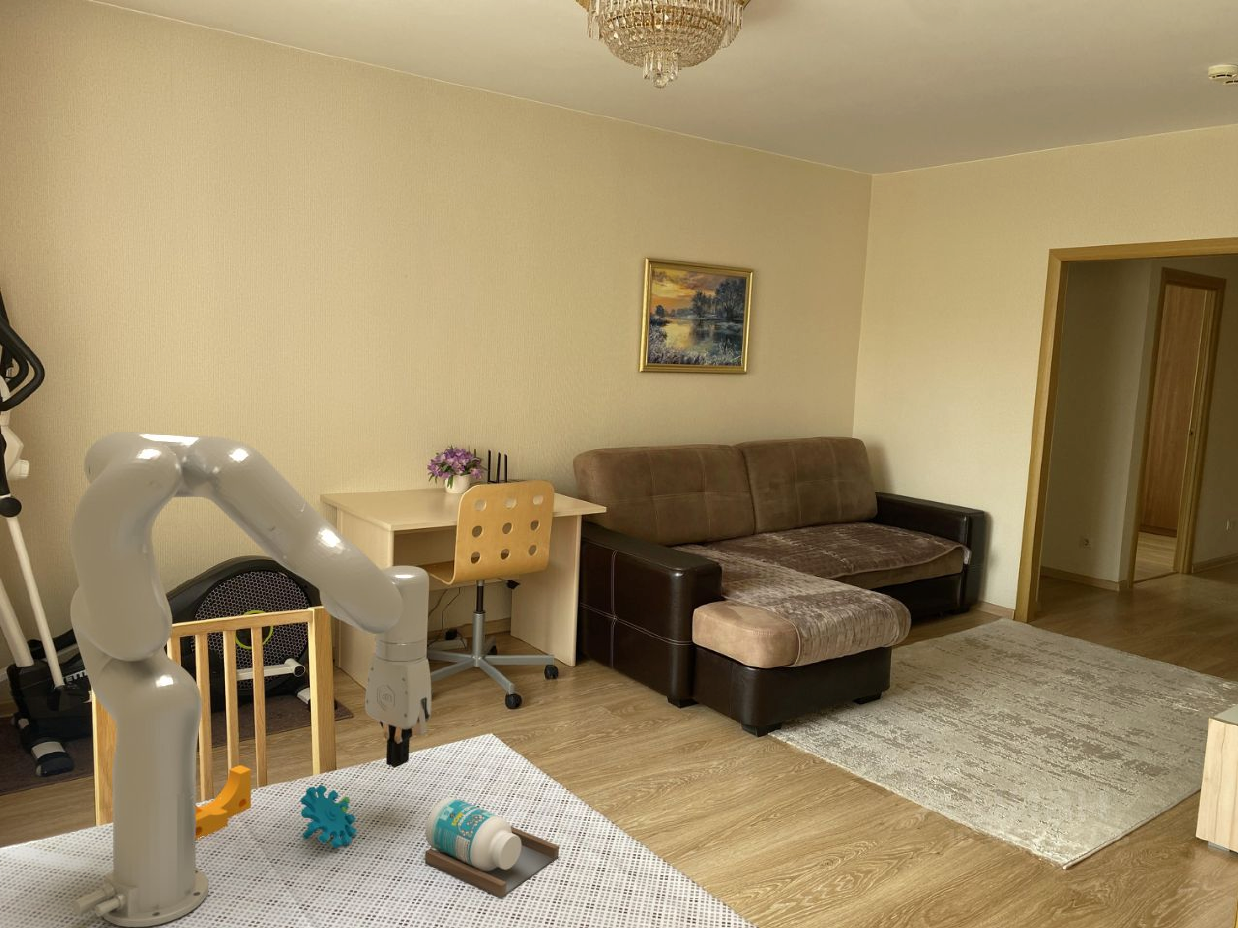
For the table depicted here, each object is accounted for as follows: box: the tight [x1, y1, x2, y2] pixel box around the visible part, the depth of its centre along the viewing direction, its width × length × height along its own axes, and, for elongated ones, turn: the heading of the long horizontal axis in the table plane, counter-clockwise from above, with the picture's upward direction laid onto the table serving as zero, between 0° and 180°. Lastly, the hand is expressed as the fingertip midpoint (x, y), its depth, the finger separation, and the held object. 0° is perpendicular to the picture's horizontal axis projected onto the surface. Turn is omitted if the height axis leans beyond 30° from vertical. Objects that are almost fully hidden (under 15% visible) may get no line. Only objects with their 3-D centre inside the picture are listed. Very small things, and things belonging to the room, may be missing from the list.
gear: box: [299, 784, 357, 849], centre depth 137 cm, size 11×6×10 cm
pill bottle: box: [424, 796, 521, 871], centre depth 133 cm, size 8×7×14 cm
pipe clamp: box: [196, 764, 252, 839], centre depth 140 cm, size 12×4×6 cm, turn 150°
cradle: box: [424, 825, 560, 899], centre depth 134 cm, size 13×14×2 cm
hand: (397, 762), depth 143 cm, fingers closed
